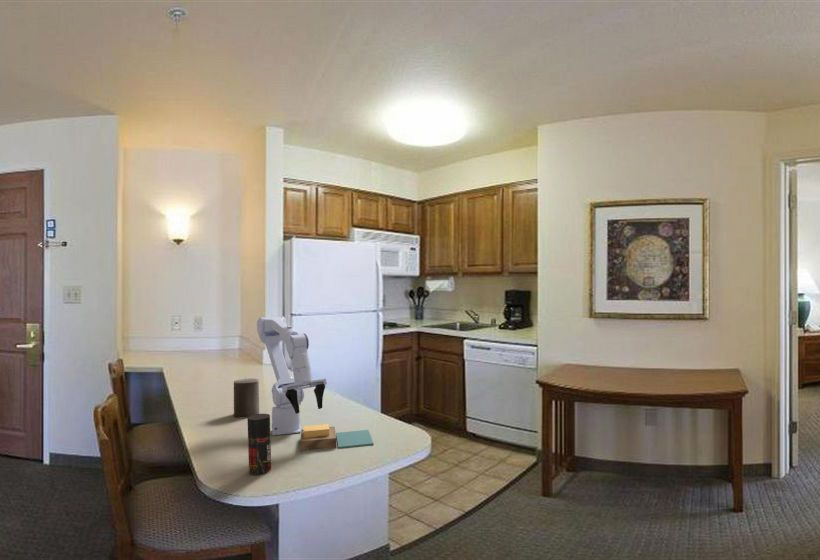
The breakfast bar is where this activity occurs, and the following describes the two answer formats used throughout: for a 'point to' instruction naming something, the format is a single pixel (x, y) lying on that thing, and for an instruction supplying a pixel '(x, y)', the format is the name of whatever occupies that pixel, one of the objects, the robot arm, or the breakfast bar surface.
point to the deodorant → (259, 444)
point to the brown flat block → (318, 441)
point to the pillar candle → (246, 397)
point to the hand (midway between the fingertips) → (309, 410)
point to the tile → (316, 430)
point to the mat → (354, 439)
